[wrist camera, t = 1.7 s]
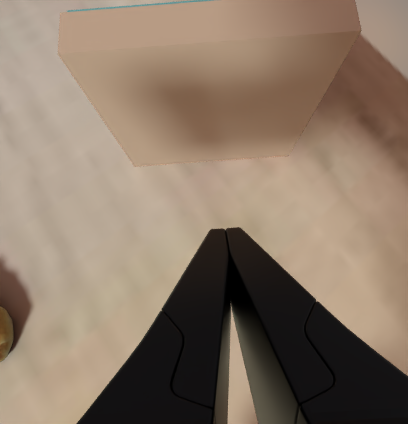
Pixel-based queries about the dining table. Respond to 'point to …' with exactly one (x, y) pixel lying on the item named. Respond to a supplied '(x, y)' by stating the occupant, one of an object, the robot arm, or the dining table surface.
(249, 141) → the tile
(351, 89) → the dining table surface
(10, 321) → the pastry
